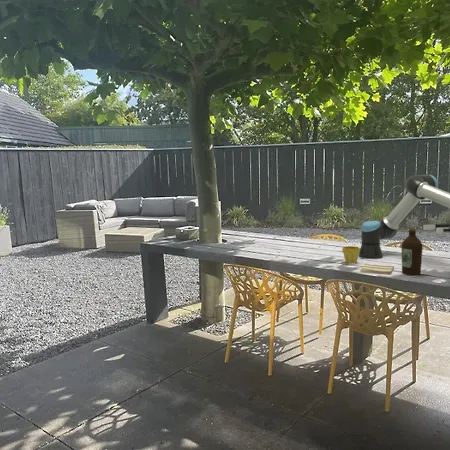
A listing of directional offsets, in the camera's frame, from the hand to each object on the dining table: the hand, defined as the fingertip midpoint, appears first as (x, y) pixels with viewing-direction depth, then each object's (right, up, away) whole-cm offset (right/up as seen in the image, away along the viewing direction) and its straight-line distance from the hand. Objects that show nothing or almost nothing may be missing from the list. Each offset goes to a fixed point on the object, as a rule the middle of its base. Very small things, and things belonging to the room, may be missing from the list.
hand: (429, 228), depth 233 cm
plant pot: (-33, -22, +35) cm, 53 cm away
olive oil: (-9, -25, +3) cm, 27 cm away
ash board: (-24, -24, +13) cm, 36 cm away
